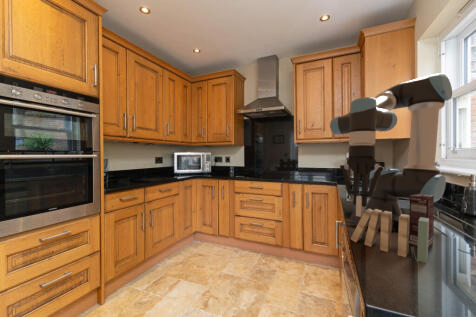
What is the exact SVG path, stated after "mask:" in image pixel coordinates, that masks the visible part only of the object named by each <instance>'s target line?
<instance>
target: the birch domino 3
mask: <svg viewBox="0 0 476 317" xmlns="http://www.w3.org/2000/svg"><path fill="white" fill-rule="evenodd" d="M392 228H393V226H392V212H389V211H384V212H383V213H381V229H380V241H379V250H380V251H383V252H387V253H388V252H389V250H391V248H392Z"/></svg>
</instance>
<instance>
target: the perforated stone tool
mask: <svg viewBox="0 0 476 317" xmlns="http://www.w3.org/2000/svg"><path fill="white" fill-rule="evenodd" d="M364 212H365V211H363V213H364ZM382 213H383V212H382ZM394 218H395V216H394V215H393V214H392V227H393V226H394V224H395V223H394V222H395V221H394ZM349 219H350V221H351V223H353V224H354V225H356V226H357V225H358V223H359V221H360V219H361V217H359V216H356V211H354V212H353V213H351V214H350V217H349ZM368 226H369V224H368ZM368 226H367V227H368ZM378 230H381V219H380V223H379V228H378Z"/></svg>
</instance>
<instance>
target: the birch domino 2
mask: <svg viewBox="0 0 476 317" xmlns="http://www.w3.org/2000/svg"><path fill="white" fill-rule="evenodd" d="M381 213H382V211H381V210H378V209H375V210H373V211H372V212H371V216H370V221H369V226H368V228H367V229H366V230H367V231H366V236H365V241H364V245H365V246H368V247H370V248H371V247H372V246H374V244H376V241H377V240H376V239H377V236H378V231H379V229H378V228H379V223H380V219H381Z"/></svg>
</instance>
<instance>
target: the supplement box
mask: <svg viewBox="0 0 476 317" xmlns="http://www.w3.org/2000/svg"><path fill="white" fill-rule="evenodd" d="M434 203H435V202H434V196H433V195H426V194H414V195H411V196H410V199H409V213H408V215H410V219H409V244H410V245H411V244H412V245H413V246H418V220H419V219H420V217H423V218H429V236H428V247H430V245H431V244H433V242H434Z"/></svg>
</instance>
